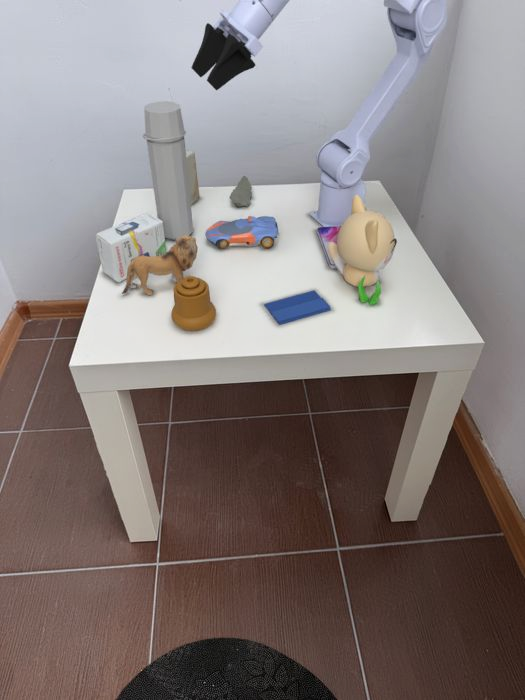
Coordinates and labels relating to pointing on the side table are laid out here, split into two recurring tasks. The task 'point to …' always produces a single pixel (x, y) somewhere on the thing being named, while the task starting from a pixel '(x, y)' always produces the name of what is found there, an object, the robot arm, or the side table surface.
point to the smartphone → (328, 241)
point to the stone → (242, 193)
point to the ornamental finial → (192, 304)
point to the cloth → (297, 307)
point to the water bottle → (169, 167)
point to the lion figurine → (163, 263)
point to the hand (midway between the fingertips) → (203, 79)
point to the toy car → (244, 232)
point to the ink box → (130, 244)
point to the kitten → (363, 248)
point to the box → (192, 176)
